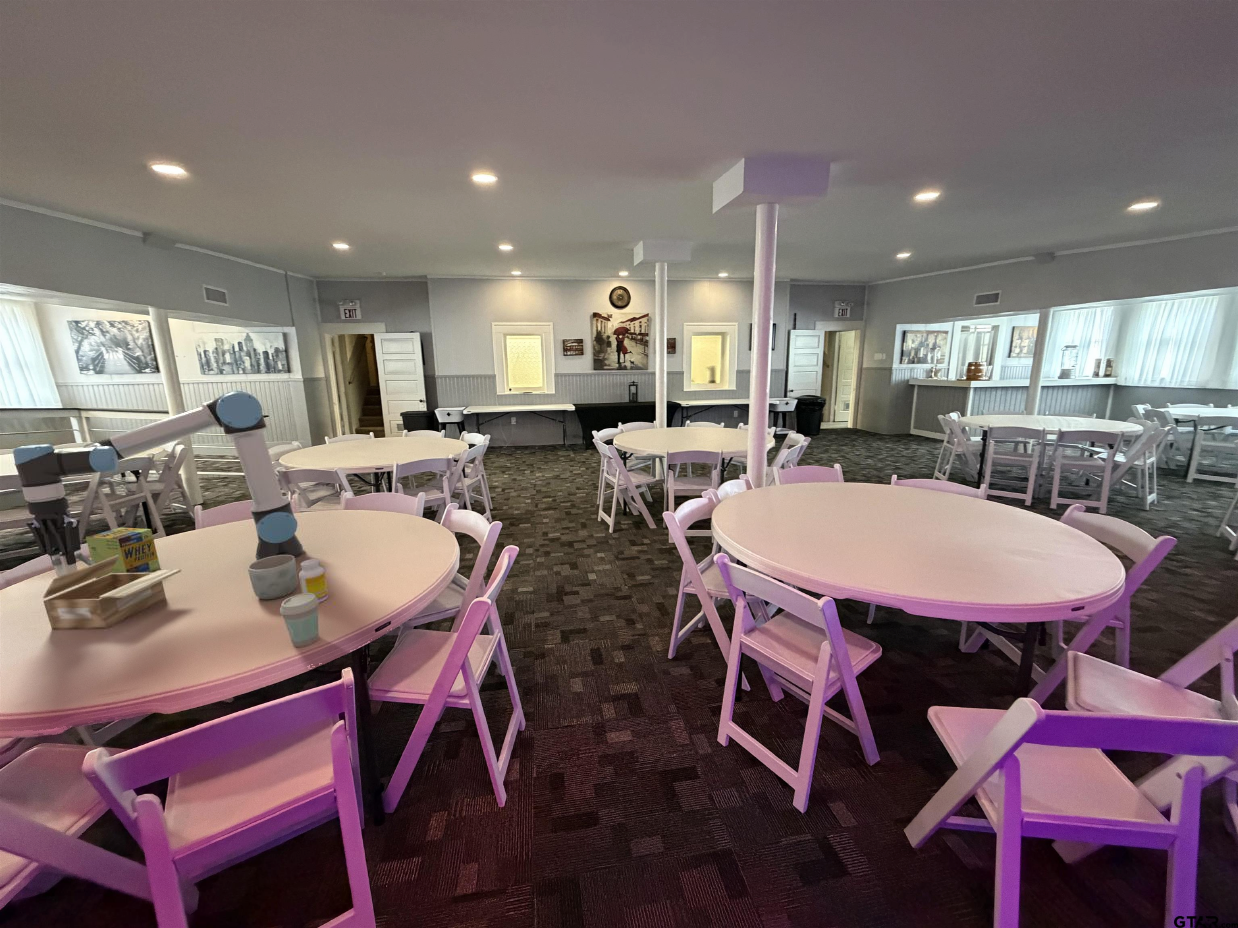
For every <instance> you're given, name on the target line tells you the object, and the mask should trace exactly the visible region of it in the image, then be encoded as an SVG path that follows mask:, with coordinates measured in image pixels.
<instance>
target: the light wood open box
mask: <svg viewBox="0 0 1238 928" xmlns="http://www.w3.org/2000/svg"><path fill="white" fill-rule="evenodd" d="M181 572H182V569H162V570H161V569H157V570H155V571H154V572H153V571H152V572H148V573H110V574H108V575H105V576H103V577H97V578H95V579H92V580H90V581H87V582H85V583H82V585H81V584H80V585H77V586H75V587H73V588H70V589H68V590H67V591H66V590H65V591H63V592H60V593H59V594H55V596H54V595H53V596H52V597H51V596H50V597H48V598H46V599H44V600H43V605H44V608H45V611H46V615H47V617H48V621H49V624H50V627H51V630H53V631H54V630H55V631H57V630H58V631H59V630H63V631H64V630H107V629H109V628H112V627H113V626H115V625H117V624H119V623H120V622H122V621H125V620H127V619H128V618H131V617H132V616H134V615H137V614H139V613H140V612H142V611H145V610H146V609H148V608H150V607H152V606H154V605H156V604H158V603H160V602H162V601H164V600H166V599H167V596H166V593H165V587H164V584H163V581H164V580H166V579H168V578H171V577H172V576H173V577H174V575H177V574H179V573H181Z"/></svg>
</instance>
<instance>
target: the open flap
mask: <svg viewBox="0 0 1238 928" xmlns="http://www.w3.org/2000/svg"><path fill="white" fill-rule="evenodd" d="M74 554H75V559H76V560H79V561H81V562H83V563H84V564H85V565H87V566H85V567H82V568H79V569H77V570H76V571H74V572H71V573H68V574H66V575H63V576H60V577H56V578H53V579H52V581H51V583H50V584H49V586H48V588H47V590H46V592H45V593H44V595H43V596H42V598H43V599H48V598H50V597H51V596H52V597H53V596H54V595H58V593H59V594H60V593H63V592H65V591H66V590H67V591H68V590H70V589H73V588H75V587H77V586H80V585H81V584H85V583H87V582H90V581H92V580H95V579H97V578H100V577H99V576H101V575H104V574H106V573H109V572H110V571H111V569H112V567H113V566H114V564H115V563H116V561H117V559H118V558H119V556H120V555H116V556H114V557H111V558H108V559H106V560H103V561H100V562H98V563H95V562H93V561H92V559H90V558H89V557H87V556H86V555H84V554H83V553H82V552H81V551H76V552H75V553H74ZM60 564H62V562H61V559H60V558H59V559H56V560H53V561H51V565H52V566H53V567H54V566H58V565H60Z"/></svg>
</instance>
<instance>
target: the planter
mask: <svg viewBox="0 0 1238 928" xmlns="http://www.w3.org/2000/svg"><path fill="white" fill-rule="evenodd" d="M297 570H298V569H297V564H296V557H294V556H292V555H277V556H272V557H267V558H264V559H261V560H258V561H256V560H255V561H254V562H252V563H250V564H249V565H248V566H247V571H248V575H249V580H250V583H251V586H252V587H251V588H252V590H253V592H254V595H255V596H256V597H257V598H259V599H261V600H274V599H279V598H282V597H285V596H287V595H289V594H291V593H292V592H293V591H295V589H297V586H298V572H297Z"/></svg>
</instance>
